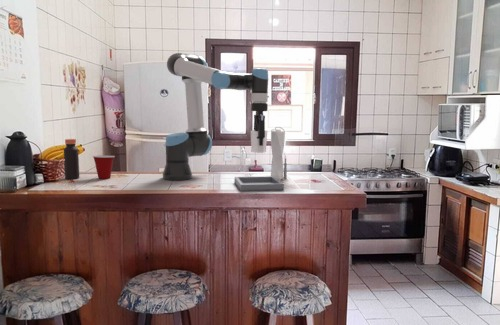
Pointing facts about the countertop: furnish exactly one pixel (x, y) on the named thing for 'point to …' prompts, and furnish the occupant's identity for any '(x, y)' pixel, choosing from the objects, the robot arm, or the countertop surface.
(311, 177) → the countertop surface
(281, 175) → the skyscraper
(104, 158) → the plastic cup
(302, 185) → the countertop surface
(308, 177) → the countertop surface
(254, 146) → the white cup
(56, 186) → the countertop surface
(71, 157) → the bottle
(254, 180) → the slate tray
